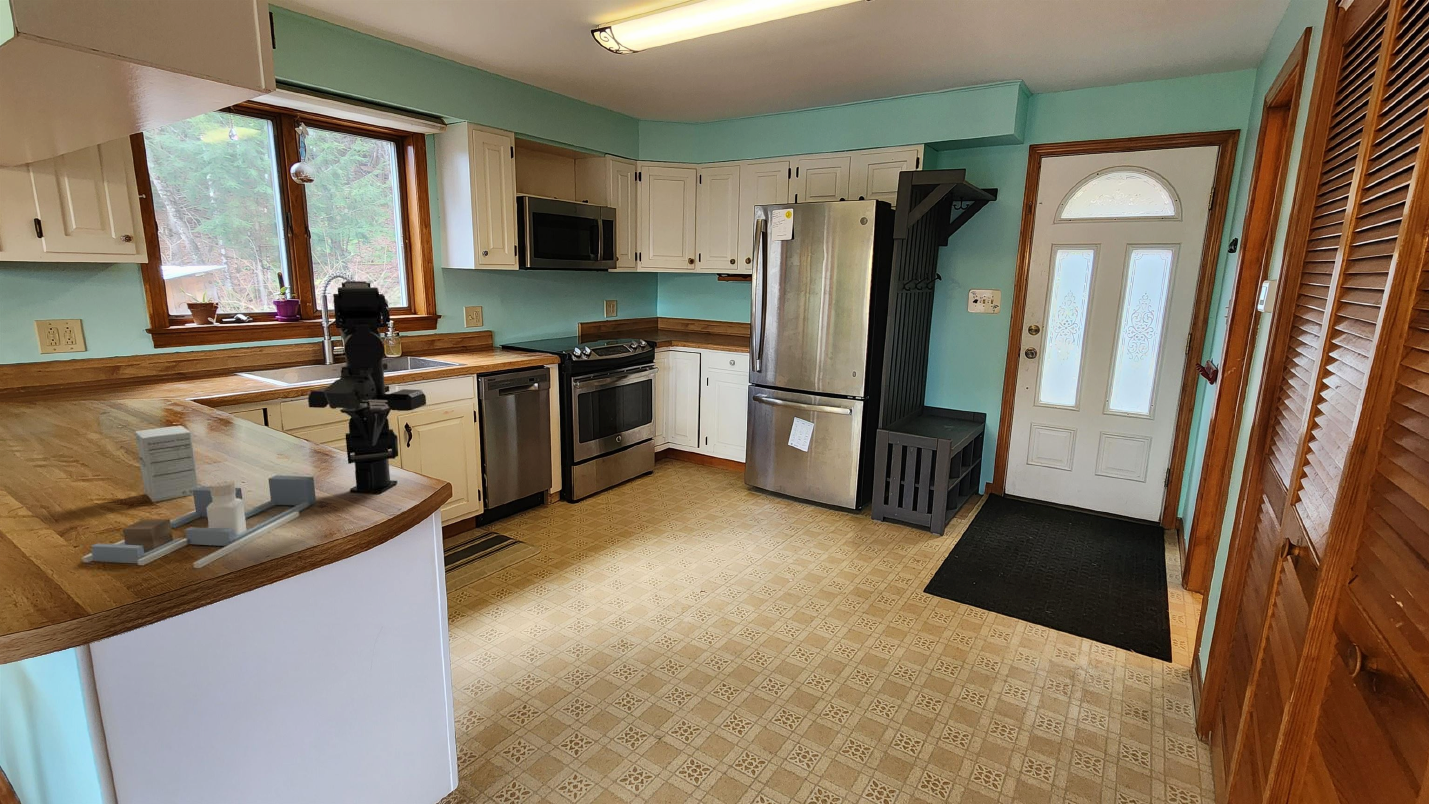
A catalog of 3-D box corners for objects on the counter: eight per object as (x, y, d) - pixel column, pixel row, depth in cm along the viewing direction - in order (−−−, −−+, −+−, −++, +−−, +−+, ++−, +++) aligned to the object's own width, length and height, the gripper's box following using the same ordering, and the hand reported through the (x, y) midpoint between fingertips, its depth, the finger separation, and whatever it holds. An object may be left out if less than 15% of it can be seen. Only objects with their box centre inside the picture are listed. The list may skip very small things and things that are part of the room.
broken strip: (206, 512, 116) (202, 486, 115) (244, 514, 115) (241, 487, 114) (93, 560, 96) (87, 529, 95) (139, 563, 96) (133, 531, 95)
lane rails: (202, 511, 116) (201, 507, 116) (299, 515, 115) (298, 511, 115) (82, 562, 96) (81, 557, 96) (199, 568, 95) (198, 563, 94)
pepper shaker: (220, 534, 106) (212, 480, 105) (248, 532, 108) (241, 478, 106) (209, 544, 103) (201, 487, 101) (238, 542, 104) (231, 486, 102)
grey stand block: (279, 500, 122) (276, 475, 121) (316, 502, 121) (313, 476, 120) (187, 543, 102) (182, 514, 101) (230, 545, 102) (226, 516, 101)
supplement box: (143, 493, 125) (133, 430, 122) (191, 485, 130) (182, 424, 128) (151, 503, 120) (140, 437, 117) (200, 493, 125) (191, 430, 123)
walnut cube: (146, 542, 103) (142, 519, 102) (173, 542, 104) (169, 518, 103) (126, 553, 99) (122, 529, 98) (154, 552, 100) (150, 528, 99)
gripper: (280, 364, 106) (290, 455, 109) (389, 367, 104) (397, 460, 107) (325, 355, 116) (333, 439, 119) (424, 358, 115) (430, 442, 118)
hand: (371, 445), depth 116 cm, fingers closed
